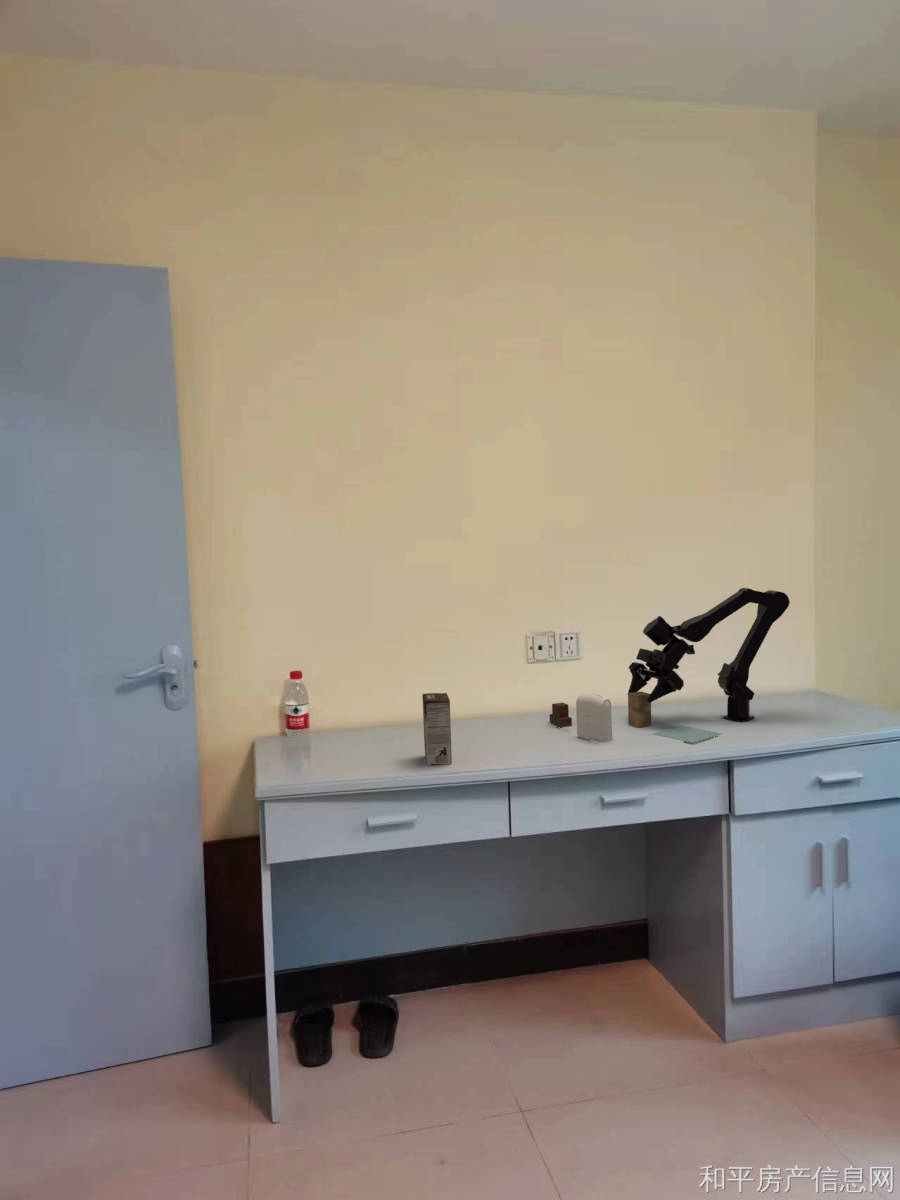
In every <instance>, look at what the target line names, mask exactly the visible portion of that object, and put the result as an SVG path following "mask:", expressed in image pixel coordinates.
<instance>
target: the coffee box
mask: <svg viewBox="0 0 900 1200" xmlns="http://www.w3.org/2000/svg"><path fill="white" fill-rule="evenodd" d="M421 694H422V697H421V698H422V716H423V741H424V742H423V743H424V755H425V762H426V765H427V766H430V765H429V764H445V765H451V764H450V763H452V761H453V759H452V755H453V754H452V726H451V725H452V723H451V720H452V719H451V701H450V698H449V695H448V693H447V692H442V693H441V692H439V693H438V692H430V693H421Z"/></svg>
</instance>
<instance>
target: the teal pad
mask: <svg viewBox="0 0 900 1200" xmlns="http://www.w3.org/2000/svg"><path fill="white" fill-rule="evenodd" d="M652 735H655V736H659V737H664V738H669V739H673V740H678V741H682V742H683V743H685V744H690V745H696V744H699V743H702V742H701V741H703V742H706V741H709V740H711V738H712V739H715V738H718V736H721V735H723V733H722V732H717V731H711V730H706V729H701V728H696V727H691V726H687V725H677V726H674V727H670V728H668V729H664V730H660V731H657V732H653V733H652ZM714 737H715V738H714ZM708 739H709V740H708ZM705 740H706V741H705ZM698 742H699V743H698ZM695 743H696V744H695Z"/></svg>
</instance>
